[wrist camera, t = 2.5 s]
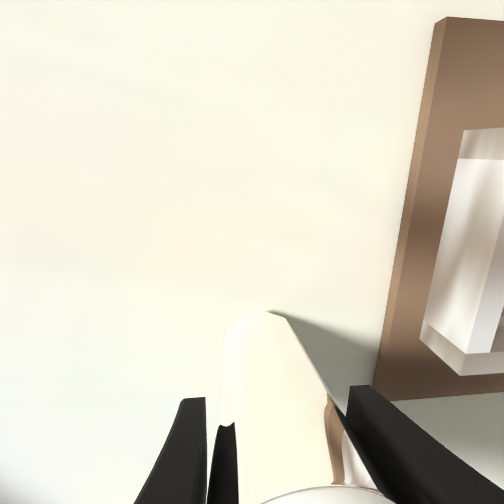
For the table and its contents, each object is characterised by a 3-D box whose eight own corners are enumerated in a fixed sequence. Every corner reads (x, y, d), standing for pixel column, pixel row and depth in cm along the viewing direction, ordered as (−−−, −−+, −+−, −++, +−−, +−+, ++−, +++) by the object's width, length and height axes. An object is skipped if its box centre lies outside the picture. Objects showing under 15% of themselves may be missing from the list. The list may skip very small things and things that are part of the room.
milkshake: (343, 320, 14) (620, 689, 4) (264, 401, 15) (352, 852, 5) (267, 261, 13) (423, 593, 3) (186, 353, 13) (113, 832, 4)
